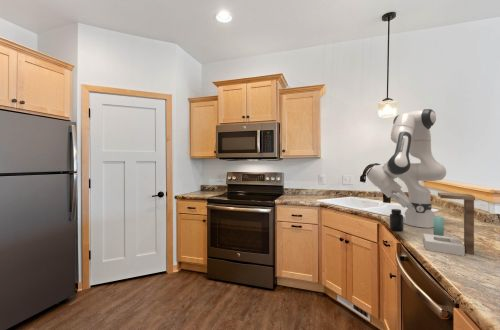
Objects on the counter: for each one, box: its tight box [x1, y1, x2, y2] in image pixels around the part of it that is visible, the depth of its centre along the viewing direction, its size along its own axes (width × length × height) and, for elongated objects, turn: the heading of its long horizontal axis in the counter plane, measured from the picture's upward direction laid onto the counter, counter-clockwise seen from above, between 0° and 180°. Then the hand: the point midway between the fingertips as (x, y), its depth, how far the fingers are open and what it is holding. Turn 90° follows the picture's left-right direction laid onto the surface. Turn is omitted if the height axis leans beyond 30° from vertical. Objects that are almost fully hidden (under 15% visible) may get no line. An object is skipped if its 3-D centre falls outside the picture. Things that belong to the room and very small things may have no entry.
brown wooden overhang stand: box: [437, 192, 476, 255], centre depth 103 cm, size 10×11×25 cm
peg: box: [433, 215, 445, 236], centre depth 116 cm, size 4×4×12 cm
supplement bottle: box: [389, 208, 405, 233], centre depth 135 cm, size 7×7×12 cm
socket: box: [422, 233, 466, 257], centre depth 106 cm, size 13×13×4 cm
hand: (414, 210), depth 121 cm, fingers open, 8 cm apart
